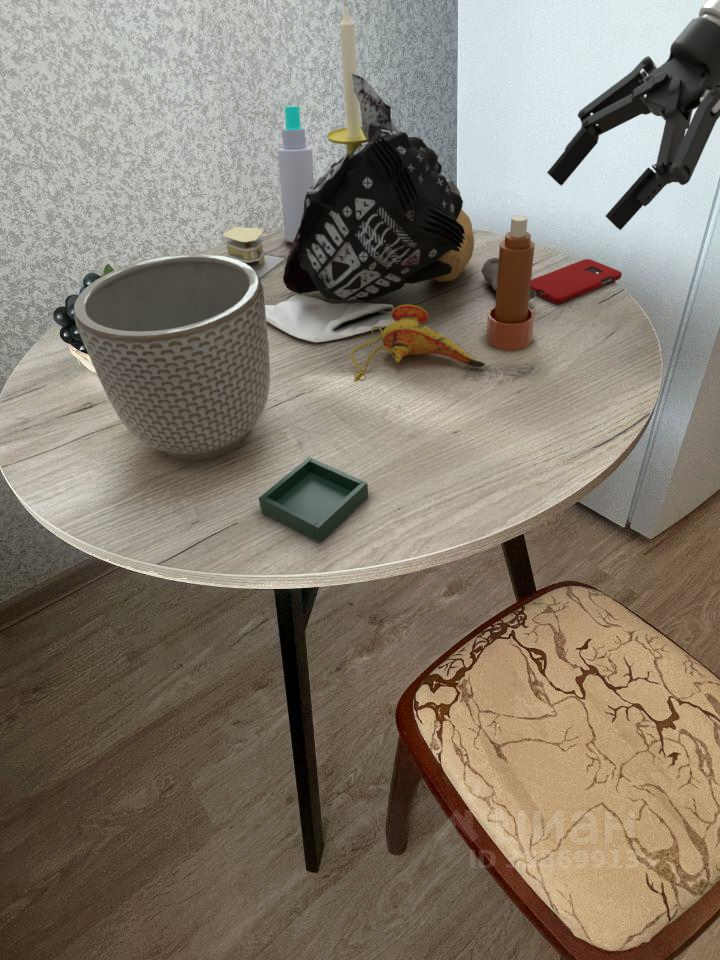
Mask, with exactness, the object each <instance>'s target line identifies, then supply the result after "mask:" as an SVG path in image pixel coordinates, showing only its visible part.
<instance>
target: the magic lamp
mask: <svg viewBox="0 0 720 960" xmlns="http://www.w3.org/2000/svg"><path fill="white" fill-rule="evenodd" d="M391 312H392V313H391V315H392V318H393V319H394V320H395V322H393V323H391V324H389V325H388V326H387V327H384V329H383V328H379V327H374V328H378V329H377V330H380V335H379V336H378V337H376V338H374V339H371V340H369V341H366V342H364V343H362V344H360V345H357V346H356V347H354V348H352V350H351V351H350V359H351V361H352V363H353V364H354V366H355V367H356V368H357V369H358V371H355V372H354V373H353V376H354V379H353V383H356V382H360V381H361V382H363V381H365V380H366V379H367V376H366V373H367V369H368V368H369V366H370V363H371V360H372V359H373V357H374V356H375V355H376V354H377V353H378V352H379V351H386V352H388V353H389V354H391V356H392V358H393V359H394V361H395V363H398V364H399V363H400V362H401V361H402V359H403V358H404V357H406V356H419V355H439V356H444V357H447V358H451V359H453V360H455V361H457V362H460V363H461V364H464V365H467V366H470V367H473V368H483V367H485V366H486V364H485V362H483V361H480V360H477V359H476V358H474V357H472V356H470V354H468V353H467V352H465V351H464V350H463V349H462V348H460V346H459V345H458V344H456V343H455V342H453V341H452V340H451V339H449V338H447V337H446V336H444V335H442V334H441V333H439V332H438V331H435V330H433V329H432V328H430V327H428V326H427V325H425V324H426V323H427V321H428V320H429V314H428V312H427V310H426V309H424V308H423V307H421V306H419V305H415V304H401V305H400V304H399V305H398V306H396V307H394V309H393V310H391ZM374 328H372V331H371V333H372V334H374V330H373V329H374ZM378 341H381V343H382V344H383V345H379V346H376V347H375V348H374V349H373V350H372V351H371V352H370V354H368V357H367V359H365V362H364V364H363V367H362V368H361V366H360V365H359V364H358V363H357V361H356V360H355V358H354V352H355V351H357V350H359V349H361V348H363V347H366V346H368V345H370V344H373V343H377V342H378ZM362 376H363V377H364V378H363V379H362Z"/></svg>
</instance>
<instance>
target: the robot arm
mask: <svg viewBox="0 0 720 960" xmlns="http://www.w3.org/2000/svg"><path fill="white" fill-rule="evenodd" d="M669 50H670V51H669V56H668V59H667V60H666V61H665V62H664V63H662V64H661V65H660V66H658V65H657V64H656V63H655V62H654V60H653V59H652V58H651V56H645V57H644V58H642V59H641V60H640V62H638V64H637V65H636V66H635V67H634V68H633V69H632V70H631V71H630V72H629V73H628V74H626V75H625V76H624V77H622V78H621V79H620V80H618V81H617V82H616V83H614V84H613V85H612V86H610V87H609V88H608V89H607V90H605V91H604V92H603V93H601V94H600V95H599V96H597V97H596V98H595V99H593V100H592V101H590V102H589V103H588V104H587V105H585V106H584V107H583V108H581V109H580V110H578V113H577V117H578V118H579V121H580V122H581V127H580V128H579V130H578V131H577V132H576V134H575V135H574V136H573V137H572V139H571V140H570V141H569V142H568V143H567V144H566V146H565V148H564V151H563V152H562V153H561V155H560V156H559V157H558V159H557V160H556V161H555V162H554V163H553V164H552V165H551V167H550V168H549V169H548V170H547V172H546V173H547V175H549V176H550V177H551V178H552V179H553V180H554V182H556V183H557V185H559V186H561V187H562V186H563V185H564V184H565V183H566V182H567V181H568V179H569V178H570V176H572V174H574V172H575V171H576V169H577V168H578V167H579V166H580V164H581V163H582V162H583V161H584V160H585V159H586V157H587V156H589V154H590V153H591V151H592V150H593V149H594V148H595V147H596V145H598V143H599V141H600V140H599V139H600V136H601V135H603V134H605V133H608V132H609V131H611V130H613V129H614V128H616V127H618V126H619V127H620V126H621V125H622V124H625V123H627V122H629V121H630V120H633V119H634V118H637V117H638V116H640V115H645V116H647V115H650V114H652V115H654V116H655V117H662V119H663V120H664V121H665V123H664V128H663V130H662V131H663V132H662V136H661V141H660V145H659V150H658V154H657V159H656V163H654V164H651V167H652V169H651V168H650V167H647V168H646V169H645V170H644V171H643V172H642V174H641V175H640V176H639V177H638V178H637V179H636V180H635V181H634V182H633V184H632V185H631V186H630V187H629V188H628V189H627V191H626V192H625V193H624V194H623V195H622V196H621V197H620V198H619V199H618V201H617V202H616V203H615V204H614V205H613V207H612V208H611V209H610V210H609V211H608V212H607V213H606V215H605V218H606V219H608V221H609V222H610V223H612V225H613V226H614V227H616V229H618V230H619V231H622V229H624V228H625V227H626V225H627V224H628V223H629V222H630V221H631V219H632V218H634V216H635V215H636V214H637V213H638V212H639V211H640V210H641V208H642V207H646V206H647V205H649V204H650V203H651V202H652V201H653V200H654V199H655V198H656V196H658V194H659V193H660V192H661V191H662V190H663V189H664V188H665V187H666V186H667V185H670V184H672V183H678V184H679V185H681V186H684V185H687V184H688V183H689V182H690V180H691V178H692V176H693V174H694V172H695V169H696V167H697V165H698V163H699V161H700V158H701V156H702V154H703V152H704V149H705V147H706V145H707V142H708V141H709V138H710V137H711V134H712V131H713V129H714V127H715V125H716V123H717V120H719V118H720V0H706V2H705V3H703V5H702V6H701V8H700V9H699V12H698V17H695V18H692V19H691V20H690V22H689V23H688V24H687V25H686V26H685V28H684V29H683V30H682V31H681V32H680V33H679V35H678V36H677V37H676V38H675V39H674V41H673V42H672V43H671V45H670V49H669ZM695 109H696V110H695ZM694 110H695V112H694V114H693V111H694ZM692 114H693V116H692Z"/></svg>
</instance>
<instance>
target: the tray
mask: <svg viewBox="0 0 720 960" xmlns="http://www.w3.org/2000/svg"><path fill="white" fill-rule="evenodd" d="M367 499H369V485H368V482H367V481H365V480H362V479H360V478H357V477H355V476H353V475H350V474H349V473H346V472H344V471H342V470H339V469H337V468H335V467H332V466H330V465H328V464H326V463H324V462H321V461H319V460H317V459H314V458H313V457H310V456H307V457H306V458H305V459H303V460H302V461H301V462H300V463H299V464H298V465H297V466H296V467H294V468H293V469H292V470H291V471H290V472H288V473H287V474H286V475H284V476H283V477H282V478H281V479H279V481H277V482H276V483H275V484H274V485H273V486H271V487H270V488H268V489H267V490H266V491H265V492H264V493H262V495H260V496H259V497H258V501H259V506H260V512H261V513H262V514H264V515H265V516H268V517H269V518H272V519H274V520H276V521H278V522H279V523H281V524H283V525H285V526H287V527H289V528H290V529H293V530H295V531H297V532H299V533H301V534H302V535H305V536H306V537H309V538H310V539H313V540H314V541H316V542H318V543H319V544H320V543H322V542H323V541H324V540H325V539H326V538H328V537H329V535H331V533H333V532H334V531H335V530H336V529H337V528H338V527H339V526H340V525H341V524H342V523H343V522H344V521H345V520H346V519H348V517H349V516H351V514H353V513H354V512H355V511H356V510H357V509H358V508H359V507H360V506H361V505H362V504H363V503H364V502H366V500H367Z"/></svg>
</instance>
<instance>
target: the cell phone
mask: <svg viewBox="0 0 720 960" xmlns="http://www.w3.org/2000/svg"><path fill="white" fill-rule="evenodd" d="M622 274H623V273H622V272H621V271H620V270H618V269H616V268H613V267H611V266H608V265H606V264H603V263H601V262H598V261H596V260H594V259H590V258H586V259H582V260H579V261H576V262H574V263H571V264H568V265H565V266H563V267H561V268H558V269H555V270H553V271H550V272H548V273H545V274H543V275H540V276H537V277H534V278H531V285H530V289H533V290H534V291H535V292H536V296H538V297H540V298H542V299H544V300H547V301H549V302H551V303H553V304H557V305H559V304H562V303H565V302H567V301H570V300H572V299H575V298H577V297H580V296H583V295H584V294H587V293H590V292H592V291H595V290H597V289H599V288H602V287H604V286H607V285H609V284H611V283H613V282H614V283H615V282H616V281H619V280H620V279H621V278H622Z"/></svg>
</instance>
